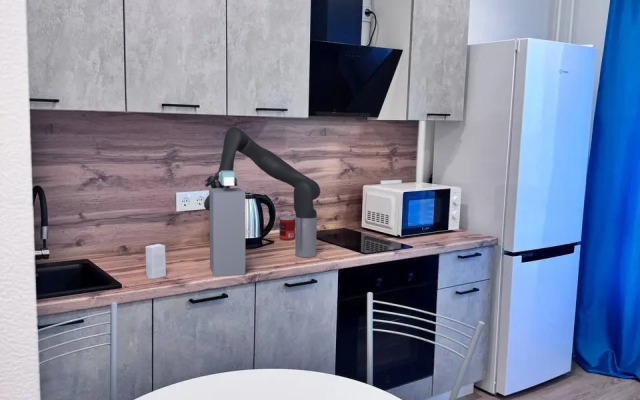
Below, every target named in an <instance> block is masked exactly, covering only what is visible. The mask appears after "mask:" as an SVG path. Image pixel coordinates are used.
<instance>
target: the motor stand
mask: <svg viewBox="0 0 640 400" xmlns="http://www.w3.org/2000/svg"><path fill="white" fill-rule="evenodd" d="M209 195H210V211H209V269H210V271H211V273H213V274H212V277H214V276H215V277H230V276H231V277H232V276H245V275H246V192H245V191H244V190H243V189H242V188H241V187H229V188H211V187H210V188H209Z"/></svg>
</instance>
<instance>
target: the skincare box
mask: <svg viewBox="0 0 640 400" xmlns="http://www.w3.org/2000/svg"><path fill="white" fill-rule="evenodd" d="M166 263H167V262H166V245H165V244H162V243H156V244H151V245H147V246H145V267H146V268H145V270H146V272H145V273H146V278H147V277H148V279H151V280H156V279H159V278H163V277H166V276H167V274H166V273H167V270H166V269H167V267H166Z"/></svg>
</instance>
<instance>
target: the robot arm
mask: <svg viewBox="0 0 640 400" xmlns="http://www.w3.org/2000/svg"><path fill="white" fill-rule="evenodd" d="M237 152H239V153H240V154H242V155H244V156H246V157H247V158H249V160H251V161H252V162H253V163H254V164H255V165H256V166H257V167H258V168H259V169H260V170H261V171H262V172H264V173H266V174H267V175H268V176H269V177H271V178H273V179H275V180H277V181H279V182H283V183H286V184H287V185H289V186H291V187H292V188H293V210H294V212H295V239H294V240H295V241H294V243H295V244H294V248H295V249H294V256H296V257H299V258H313V257H316V255H317V220H318V219H317V215H318V213H317V210H316V209H315V208H314V200H316V199H318V198H319V196H320V195H321V188H320V187H321V186H320V185H319V183H318V182H317V181H315V180H314V179H313V178H310V177H308V176H306V175H305V174H303V173H302V172H300V171H298V170H297V169H295V168H294V167H293V166H292V165H290V164H289V163H288V162H286V161H285V160H284V159H282V158H281V157H279V156H278V155H277V154H276V153H275V152H273V151H272V150H269V149H267V148H265V147H263V146H261V145H259V144H258V143H256V141H255V140H253V139H252V138H251V137H250V136H249V135H248V134H247V133H246V132H244V131H243V130H242V129H241V128H239V127H237V126H236V127H235V126H234V127H231V128H229V129H228V130H227V131H226V132H225V135H224V140H223V147H222V153H221V158H220V164H219V167H218V171H216V172H215V173H214V175H209V176H208V177H207V178H206V179H205V180H204V186H205V187H206V188H207V187H209V186H210V188H232V186H224V185H222V184H221V182H220V181H219V180H218V179H219V172H221V171H234V163H235V157H236V154H237ZM237 186H238V179H237V178H236V177H235V185H234V187H237ZM203 207H204V209H205V210H206V211H208V212H210V194H209V195H207V197H206V198H205V200H204V202H203Z"/></svg>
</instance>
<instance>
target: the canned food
mask: <svg viewBox="0 0 640 400" xmlns="http://www.w3.org/2000/svg"><path fill="white" fill-rule="evenodd" d="M295 230H296V216H292V215H291V216H289V215H283V216H280V217H279V234H278V235H279V240H281V241H288V242H289V241H293V240H295Z"/></svg>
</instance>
